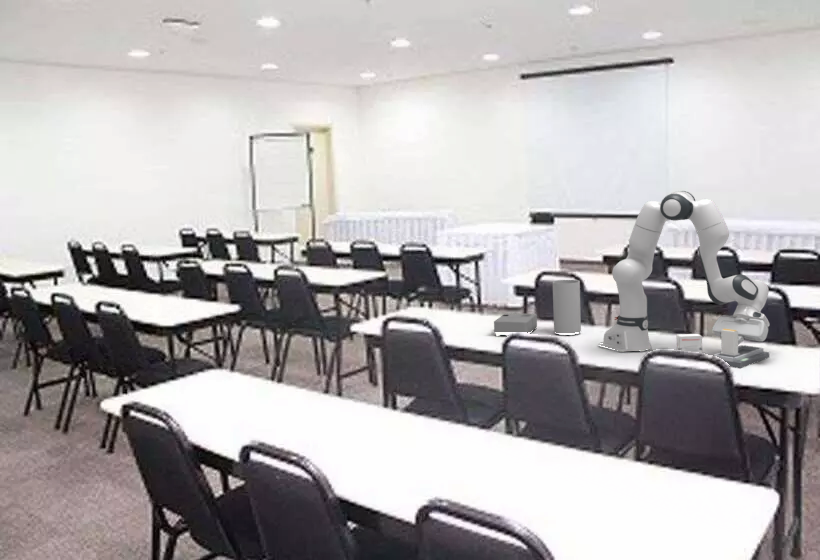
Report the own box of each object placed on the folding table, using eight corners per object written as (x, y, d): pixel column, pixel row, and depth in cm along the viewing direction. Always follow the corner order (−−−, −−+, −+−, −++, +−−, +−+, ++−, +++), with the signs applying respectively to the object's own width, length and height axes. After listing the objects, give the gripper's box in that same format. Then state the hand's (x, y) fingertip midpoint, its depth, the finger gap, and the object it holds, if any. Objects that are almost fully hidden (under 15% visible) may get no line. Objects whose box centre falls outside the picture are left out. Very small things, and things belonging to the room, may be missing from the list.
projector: (537, 328, 369) (537, 313, 368) (527, 338, 349) (527, 321, 348) (505, 327, 375) (504, 312, 374) (493, 337, 355) (492, 321, 354)
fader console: (707, 362, 286) (707, 354, 285) (737, 352, 299) (737, 344, 299) (740, 368, 276) (740, 359, 275) (769, 357, 289) (769, 348, 289)
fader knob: (719, 357, 284) (719, 329, 283) (724, 355, 287) (724, 327, 285) (734, 359, 279) (734, 331, 278) (739, 357, 282) (739, 329, 280)
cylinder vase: (559, 330, 361) (557, 279, 358) (584, 331, 355) (583, 280, 352) (550, 335, 350) (548, 283, 347) (576, 336, 344) (575, 283, 341)
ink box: (699, 363, 286) (699, 333, 285) (702, 366, 281) (702, 335, 280) (676, 363, 287) (675, 333, 286) (679, 366, 282) (679, 336, 281)
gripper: (717, 309, 295) (704, 337, 290) (768, 315, 279) (755, 345, 274) (723, 319, 298) (710, 347, 294) (774, 324, 282) (761, 354, 278)
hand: (732, 346), depth 284 cm, fingers closed, pressing on fader knob
